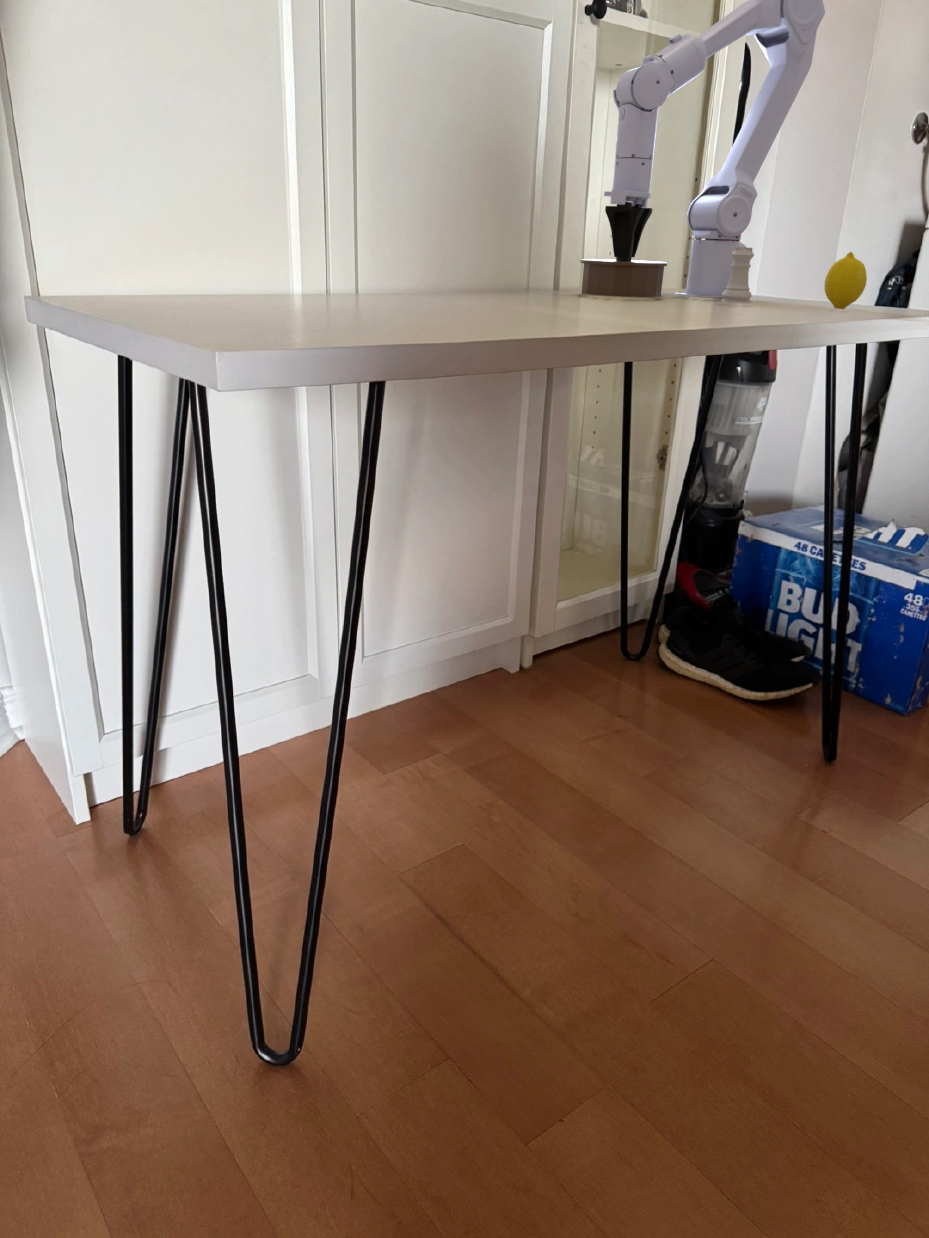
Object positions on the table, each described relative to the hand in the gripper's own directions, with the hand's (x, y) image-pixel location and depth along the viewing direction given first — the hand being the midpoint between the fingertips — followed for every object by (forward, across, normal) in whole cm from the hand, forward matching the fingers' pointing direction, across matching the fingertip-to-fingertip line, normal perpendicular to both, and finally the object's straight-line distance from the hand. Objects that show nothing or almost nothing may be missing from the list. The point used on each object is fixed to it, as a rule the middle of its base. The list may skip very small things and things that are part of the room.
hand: (624, 257), depth 138 cm
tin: (+6, 0, 0) cm, 6 cm away
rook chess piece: (+6, +2, +18) cm, 19 cm away
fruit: (+6, -1, +33) cm, 33 cm away
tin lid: (+1, 0, 0) cm, 1 cm away
